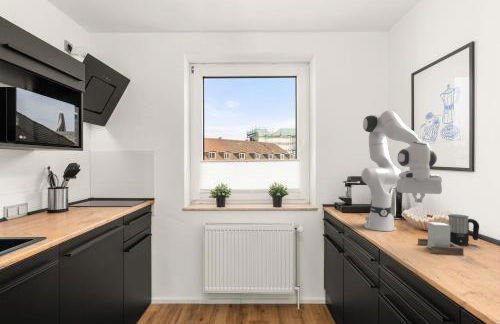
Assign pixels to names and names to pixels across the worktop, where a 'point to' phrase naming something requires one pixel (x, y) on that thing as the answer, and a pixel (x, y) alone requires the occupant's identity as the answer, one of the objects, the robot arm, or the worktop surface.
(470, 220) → the milk frother
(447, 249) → the walnut corral
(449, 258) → the worktop surface
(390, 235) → the worktop surface
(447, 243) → the supplement box
